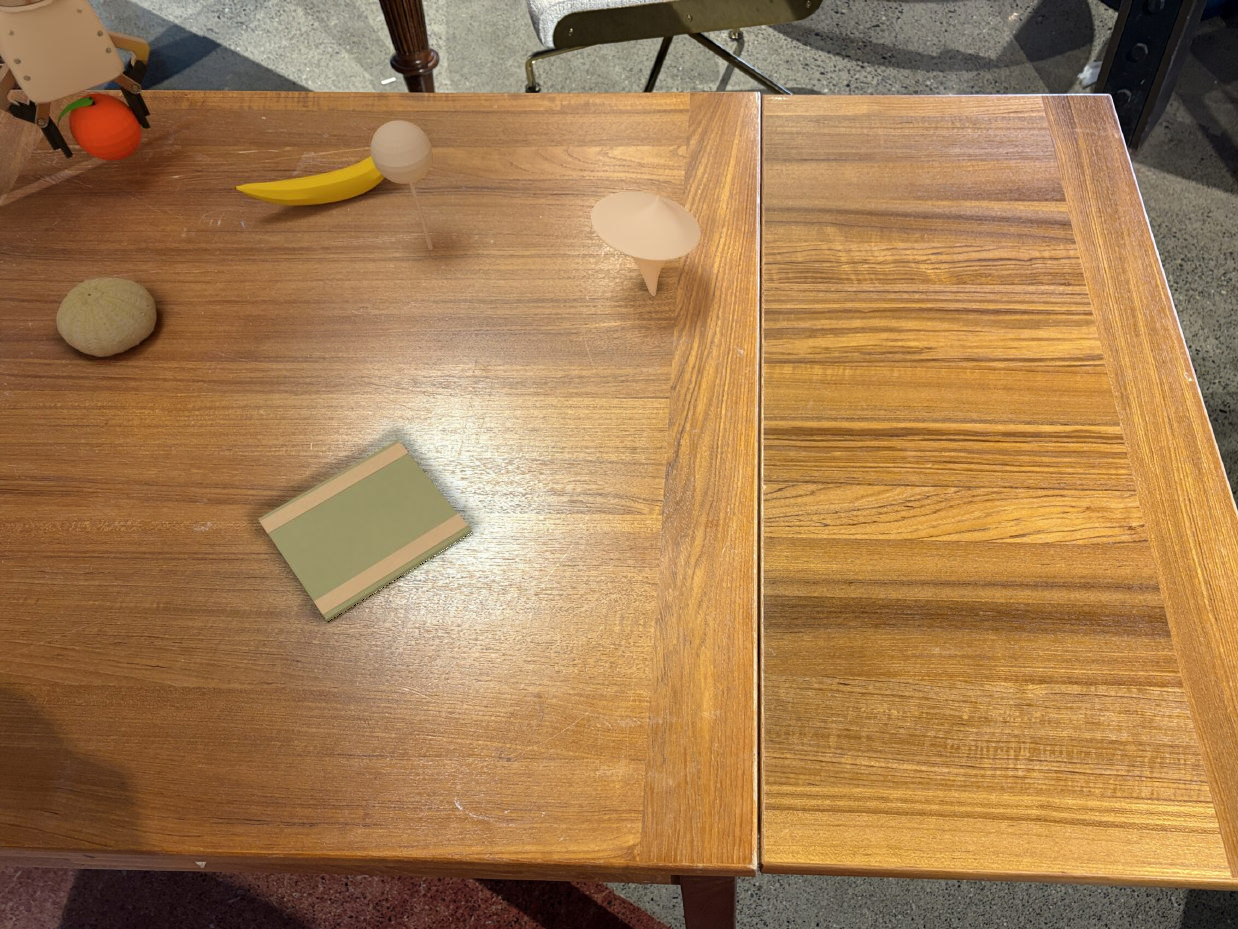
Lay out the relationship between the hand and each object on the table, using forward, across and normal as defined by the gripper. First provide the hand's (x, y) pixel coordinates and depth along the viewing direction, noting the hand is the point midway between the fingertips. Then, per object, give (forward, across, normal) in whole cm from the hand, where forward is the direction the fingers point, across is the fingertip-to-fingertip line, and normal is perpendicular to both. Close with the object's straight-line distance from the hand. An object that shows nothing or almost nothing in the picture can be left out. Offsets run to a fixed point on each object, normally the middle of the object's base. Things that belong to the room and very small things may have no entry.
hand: (104, 136), depth 112 cm
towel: (+5, +2, +61) cm, 61 cm away
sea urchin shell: (+6, +10, +23) cm, 26 cm away
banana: (+5, -17, +19) cm, 26 cm away
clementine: (+3, 0, 0) cm, 3 cm away
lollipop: (+5, -21, +33) cm, 40 cm away
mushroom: (+4, -35, +54) cm, 65 cm away
